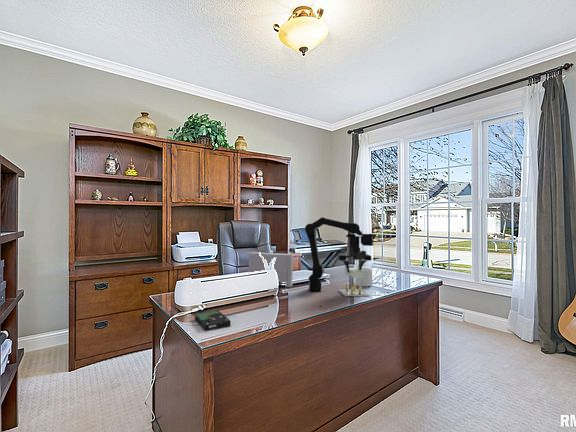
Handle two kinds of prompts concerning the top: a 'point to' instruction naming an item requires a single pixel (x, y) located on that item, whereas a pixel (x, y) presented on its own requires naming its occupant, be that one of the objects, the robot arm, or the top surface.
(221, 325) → the disk drive
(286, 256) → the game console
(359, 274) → the pale green block
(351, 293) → the chassis
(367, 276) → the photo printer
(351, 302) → the top surface
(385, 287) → the top surface
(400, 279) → the top surface
